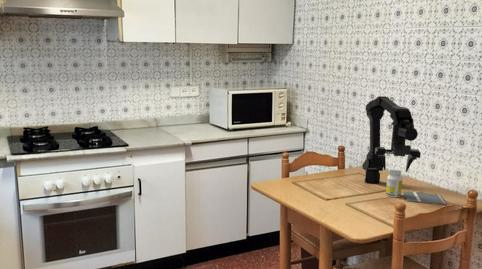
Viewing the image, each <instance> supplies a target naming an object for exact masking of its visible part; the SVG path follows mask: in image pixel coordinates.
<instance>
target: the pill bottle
mask: <svg viewBox="0 0 482 269" xmlns="http://www.w3.org/2000/svg"><path fill="white" fill-rule="evenodd" d="M401 175H402V171H401V170H399V169H390V170H389V175H387V177H386V188H385V194H386V196H388V197H389V198H390V197H391V198H400V197H401V196H402V190H403V189H402V187H403V177H402V176H401Z"/></svg>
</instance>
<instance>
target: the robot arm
mask: <svg viewBox="0 0 482 269" xmlns="http://www.w3.org/2000/svg"><path fill="white" fill-rule="evenodd" d="M365 111H366V116H367V118H368V120H369V151H368V152H367V154H366V155H365V156H366V159H365V160H364V162H363V163H362V164H361V165H362V170H364V171H365V173H364V174H365V176H364V183H366V184H375V185H376V184H377V185H378V184H380V180H381V172H383V171H386V168H387V167H386V166H387V164H386V158H387V156H386V154H388V155H389V154H392V156H394V157H402V158H403V157H406V156H407V159H406V160H407V161H406V166H405V172H406V173H408V171H409V168H410V166H411V165H412V163H413V162H414V161H415V160H417V159H420V158H421V152H420V150H419V149H416V148H412V146H411V145H410V144H409V145H408V144H407V145H406V141H409V142H412V141H414V140H416V139H417V138H418V135H419V134H418V133H419V132H418V130H417V129H416V128H415V124H414V118H413V116H412V113H411V111H410V108H407V107H405V106H399V105H398V104H397V103H395V102H394V101H393V100H391V99H390V97H388V96H386V95H385V96H381V95H380V96H376V98H374V99H373V100H370V101H369V102H368V103H367V104H366V105H365ZM385 111H387V113H389V114H390V116H389V117H390V118H391V120H392V122H391V126H392V133H391V145H390V148H389V149H387V148H385V146H381V120H382V118H383V117H384V115H385ZM380 171H381V172H380Z"/></svg>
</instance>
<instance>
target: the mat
mask: <svg viewBox="0 0 482 269" xmlns="http://www.w3.org/2000/svg"><path fill="white" fill-rule="evenodd" d="M402 193H403V195H404V198H405V200H406V201H407V202H410V203H411V202H412V203H420V202H421V203H422V204H431V203H434V205H443V204H444V205H446V206H447V202H446V201H445V200H444V198H443V197H442V196H441V194H440V193H428V192H418V191H417V192H416V191H407V190H406V191H402Z"/></svg>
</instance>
